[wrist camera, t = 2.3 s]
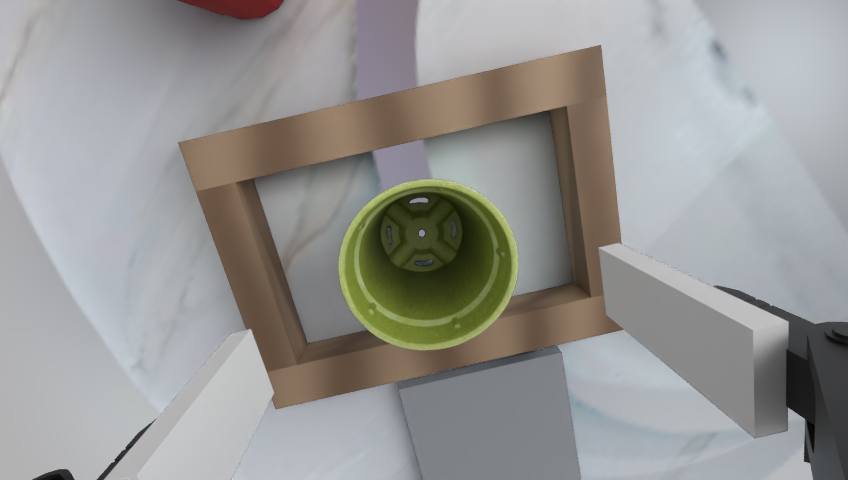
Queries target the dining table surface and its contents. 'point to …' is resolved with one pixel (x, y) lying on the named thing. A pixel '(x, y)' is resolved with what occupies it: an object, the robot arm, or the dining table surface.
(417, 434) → the slate coaster
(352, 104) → the open rectangular wooden frame
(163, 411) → the robot arm
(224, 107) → the dining table surface
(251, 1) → the plastic cup
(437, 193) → the plant pot
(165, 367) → the dining table surface
